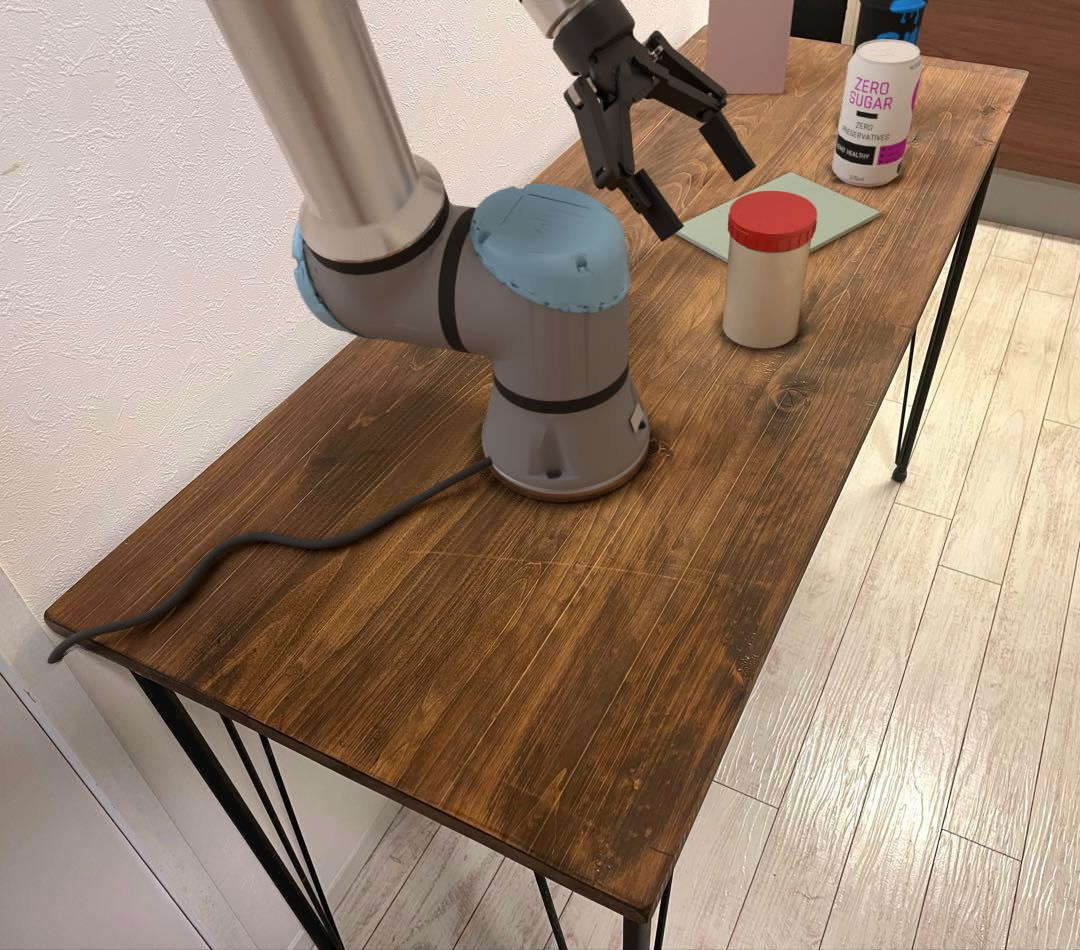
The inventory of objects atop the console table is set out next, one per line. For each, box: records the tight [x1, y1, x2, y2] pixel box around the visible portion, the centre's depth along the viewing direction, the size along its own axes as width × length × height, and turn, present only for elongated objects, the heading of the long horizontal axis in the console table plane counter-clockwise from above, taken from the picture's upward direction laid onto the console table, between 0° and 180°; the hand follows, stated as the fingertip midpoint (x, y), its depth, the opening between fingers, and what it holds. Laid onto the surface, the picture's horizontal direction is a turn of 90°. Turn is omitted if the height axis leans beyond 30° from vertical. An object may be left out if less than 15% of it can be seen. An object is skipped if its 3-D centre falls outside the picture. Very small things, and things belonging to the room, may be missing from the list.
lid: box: [728, 191, 817, 252], centre depth 86 cm, size 8×8×2 cm
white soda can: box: [831, 39, 924, 188], centre depth 110 cm, size 8×8×15 cm
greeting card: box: [704, 0, 795, 95], centre depth 130 cm, size 11×7×15 cm, turn 46°
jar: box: [722, 237, 811, 350], centre depth 90 cm, size 8×8×12 cm
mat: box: [674, 171, 881, 263], centre depth 108 cm, size 20×14×1 cm
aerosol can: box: [851, 0, 929, 58], centre depth 118 cm, size 8×8×20 cm
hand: (711, 203), depth 89 cm, fingers open, 13 cm apart
